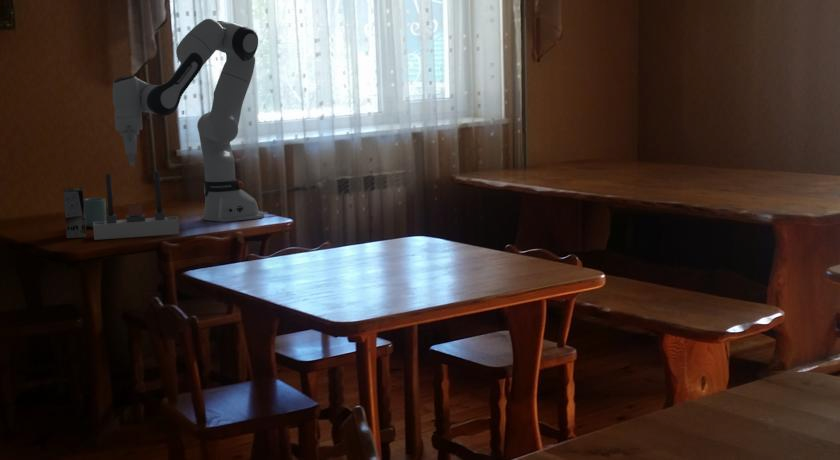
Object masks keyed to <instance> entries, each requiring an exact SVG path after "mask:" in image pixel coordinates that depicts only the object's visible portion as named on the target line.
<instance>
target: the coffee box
mask: <svg viewBox="0 0 840 460" xmlns="http://www.w3.org/2000/svg"><path fill="white" fill-rule="evenodd" d="M62 194H63V195H62V196H63V208H64V217H65V231H66V238H67V239H75V238H86V236H87V227H86V226H87V224H86V222H85V209H84V199H85V198H84V190H83V187H73V188H72V187H71V188H64V189H63V191H62Z"/></svg>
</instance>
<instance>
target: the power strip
mask: <svg viewBox="0 0 840 460" xmlns="http://www.w3.org/2000/svg"><path fill="white" fill-rule="evenodd" d="M92 228H93V230H92V231H93V238H94V239H93V240H95V241H96V240H108V239H109V240H111V239H113V240H114V239H123V238H125V239H126V238H140V237H153V236H167V235H180V224H179V217H178V215H177V216H165V220H156V219H155V217H147V218H146V215H145V213H144V214H143V213H142V215H137V216H129V214H128V215H126V219H119V220H118V219H116V223H108V224H107V220H106V221H98V222H94V223H93V227H92Z"/></svg>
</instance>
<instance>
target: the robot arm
mask: <svg viewBox="0 0 840 460" xmlns="http://www.w3.org/2000/svg"><path fill="white" fill-rule="evenodd" d="M258 46H259V37H258V34H257V32H256V31H255V30H254V29H252V28H251V27H249V26H244V25H242V24H240V23H236V22H229V21H228V22H227V21H223V20H215V19H213V18H205V19H202V20H201V22H200V21H199V23H198V24H196V25H195V26H194V27H193V28H192V29H190V31H188V32H187V34H186V35H184V36H183V38H182V39H181V41H180V42H179V44H178V46H177V47H176V48H175V49H176V51H175V53H176V58H177V59H178V62H179V63H180V64H179V66H178V67H177V68H176V70H175V71H174V72H173V74H172V75H171V77H169V79H168V80H167V81H166V82H164V83H161V84H151V83H149V82H145V81H143V80H141V79H140V78H137V76H136V75H125V76H121V77H118V78H116V79H115V80H114V81H113V84H112V103H113V107H114V127H115V128H114V129H115V131H116V132H119V136H121V137H122V139H123V144H124V151H125V152H124V153H125V155H126V156H127V157H128V163H129V164H128V165H129V167H135V166H136V160H135V159H136V158H135V157H136V156H135V155H137V153H138V149H137V143H138V142H137V141H138V140H137V139H138V135H140V131H142V130H143V128H144V127H143V116H142V113H143V112H144V113H147V114H156V115H159V116H163V117H164V116H169V115H171V114H173V113H174V112H176V110H177V108H178V107H179V104H180V101H181V99H182V96H183V95H184V92H186V90H187V89H188V88H189V86H190V85H191V84H192V82H193V81H194V79H195V78H196V77H197V76H198V75H199V72H201V69H202V68H203V66H204V65H205V64H206V63H207V61H208V60H209V59H210V58H211V57H212V56H213V55H214V53H215V52H216V51H219V52H221V53H224V54H225V55H226V56H225V57H226V58H225V63H224V64H223V67H222V69H221V72H220V73H219V76H218V80H217V82H216V86H215V88H214V91H213V98H212V99H213V100H212V106H211V110H210V111H208V112H206V113H204V114H203V115H201V117H200V118H199V119H198V120H197V124H196V126H197V131H198V135H199V142H200V147H201V152H202V157H203V158H202V159H203V169H204V170H203V171H204V180H203V193H204V197H205V200H204V211H203V216H202V219H203V220H204V221H205V220H206V221H211V222H212V221H213V222H221V223H222V222H223V223H225V222H226V223H228V222H234V221H235V222H237V221H245V220H256V219H263V218H264V217H265V213H264V211H262V210H259V207H258V203H257V201H256V199H255V198H254V196H252V195H250V194H249V193H247V192H246V191H245V190H243V189H242V188H243V187H244V183H243V181H240V180H238V179H236V167H235V157H234V154H233V151H232V150H233V149H232V147H231V142H233V141H234V140H235V139H236V138H237V136H238V133H239V125H240V118H241V113H242V108H243V103H244V101H245V98H246V94H247V92H248V90H249V86H250V84H251V82H252V81H251V80H252V78H253V75H254V70H255V65H256V58H255V54H256V52H257V50H258Z"/></svg>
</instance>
